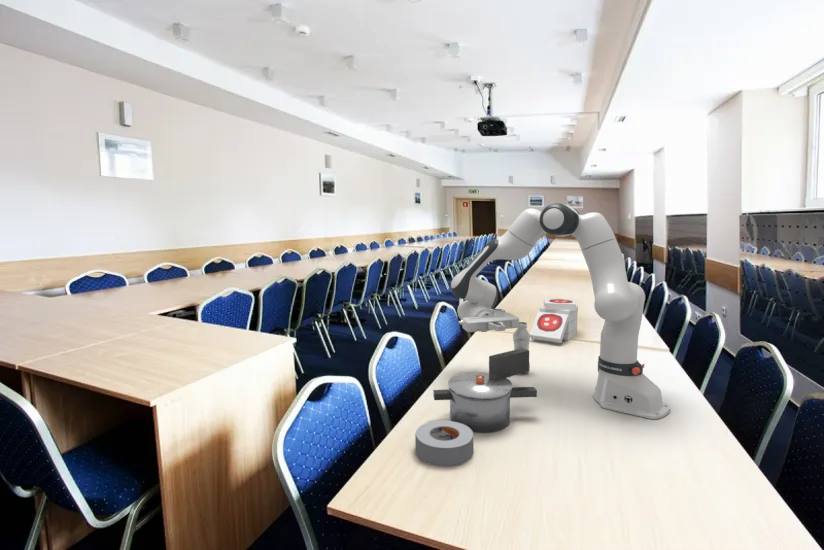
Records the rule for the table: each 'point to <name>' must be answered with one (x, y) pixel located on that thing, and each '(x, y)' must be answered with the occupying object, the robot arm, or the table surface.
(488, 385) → the lid
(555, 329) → the pizza boxes
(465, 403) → the cooker pot
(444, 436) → the tape roll
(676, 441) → the table surface
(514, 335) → the plastic bottle
